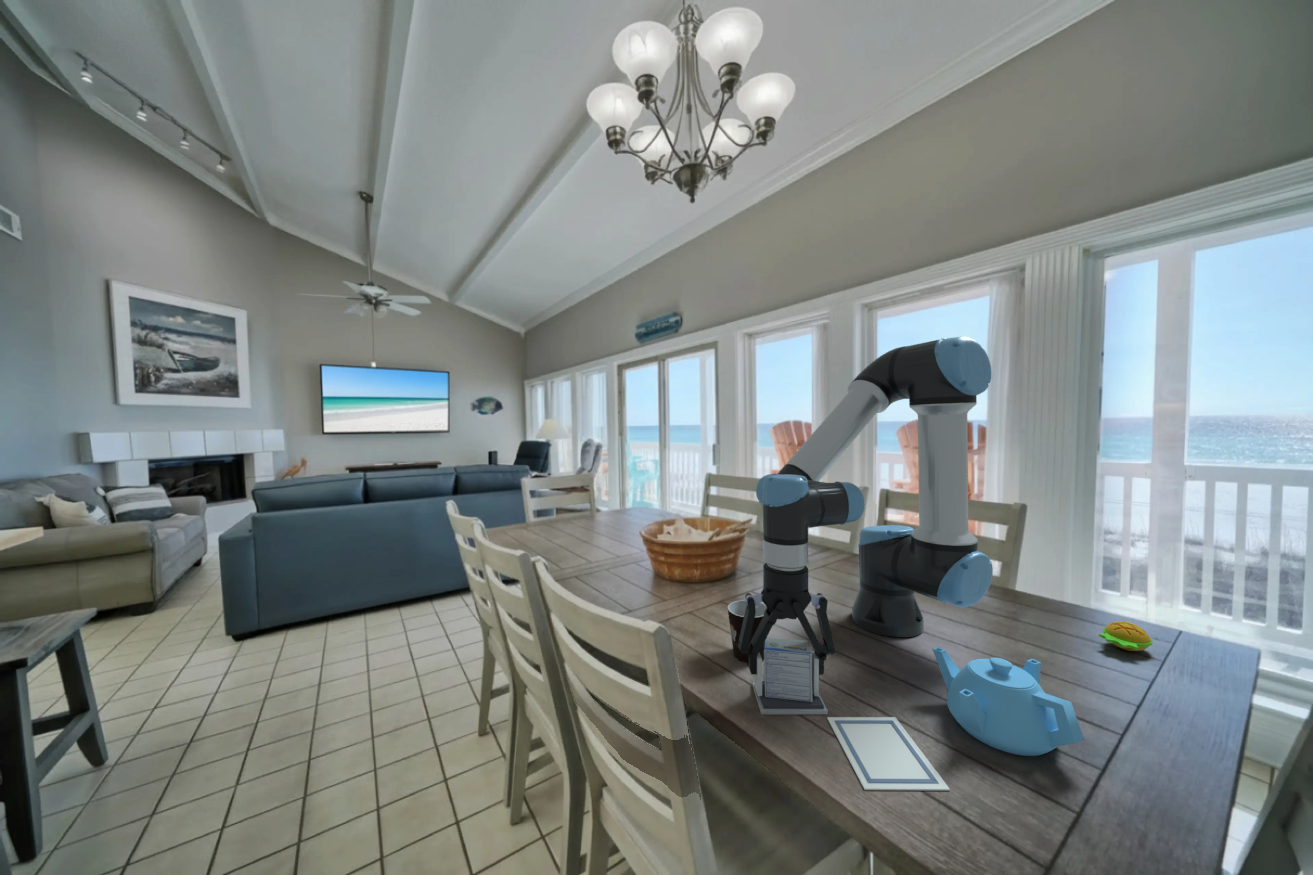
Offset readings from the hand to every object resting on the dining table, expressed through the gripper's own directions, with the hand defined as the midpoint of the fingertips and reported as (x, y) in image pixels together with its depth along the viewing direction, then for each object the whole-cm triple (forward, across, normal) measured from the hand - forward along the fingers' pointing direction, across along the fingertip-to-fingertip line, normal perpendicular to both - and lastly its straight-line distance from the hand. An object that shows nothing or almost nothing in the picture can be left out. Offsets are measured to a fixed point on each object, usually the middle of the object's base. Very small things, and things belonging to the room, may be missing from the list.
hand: (786, 691), depth 77 cm
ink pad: (+1, 0, 0) cm, 2 cm away
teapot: (+1, -31, +7) cm, 32 cm away
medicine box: (0, 0, 0) cm, 1 cm away
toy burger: (+1, -73, -16) cm, 75 cm away
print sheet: (+1, -11, +12) cm, 16 cm away
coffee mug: (+2, +4, -16) cm, 17 cm away
